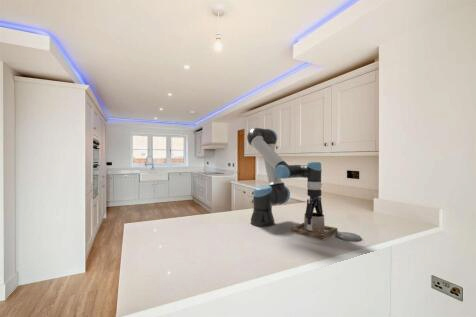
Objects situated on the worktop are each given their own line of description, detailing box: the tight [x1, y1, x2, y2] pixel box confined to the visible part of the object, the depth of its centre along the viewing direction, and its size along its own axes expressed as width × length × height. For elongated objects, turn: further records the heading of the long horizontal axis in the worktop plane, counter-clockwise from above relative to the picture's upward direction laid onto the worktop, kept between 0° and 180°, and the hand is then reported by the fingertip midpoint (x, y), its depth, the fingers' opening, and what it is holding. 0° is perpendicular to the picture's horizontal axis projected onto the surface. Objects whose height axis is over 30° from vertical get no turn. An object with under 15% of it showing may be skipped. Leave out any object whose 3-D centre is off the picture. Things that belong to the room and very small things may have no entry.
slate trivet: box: [335, 231, 362, 242], centre depth 116 cm, size 12×12×1 cm
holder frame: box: [290, 222, 338, 241], centre depth 126 cm, size 19×19×2 cm
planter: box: [303, 211, 325, 234], centre depth 126 cm, size 11×11×10 cm
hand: (314, 227), depth 125 cm, fingers closed on planter, 11 cm apart
